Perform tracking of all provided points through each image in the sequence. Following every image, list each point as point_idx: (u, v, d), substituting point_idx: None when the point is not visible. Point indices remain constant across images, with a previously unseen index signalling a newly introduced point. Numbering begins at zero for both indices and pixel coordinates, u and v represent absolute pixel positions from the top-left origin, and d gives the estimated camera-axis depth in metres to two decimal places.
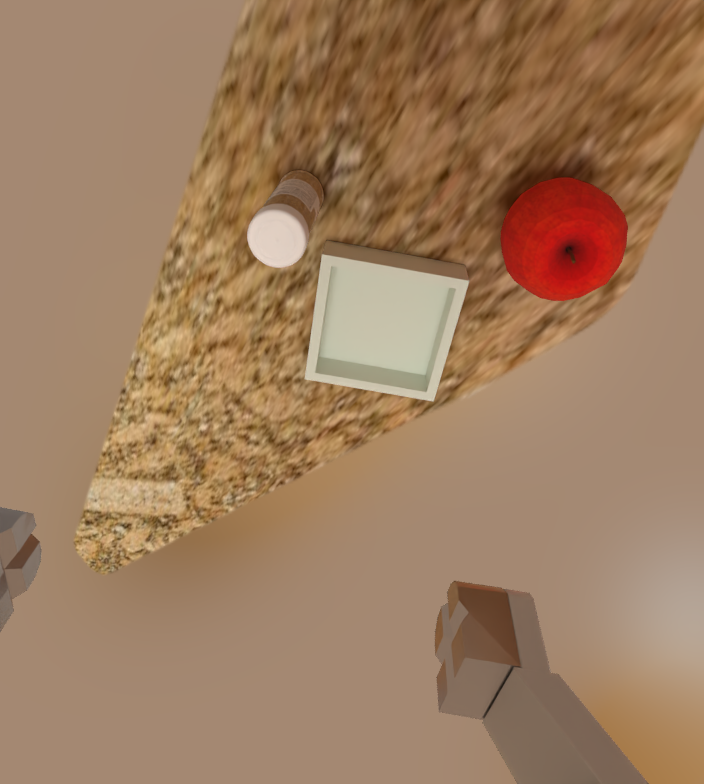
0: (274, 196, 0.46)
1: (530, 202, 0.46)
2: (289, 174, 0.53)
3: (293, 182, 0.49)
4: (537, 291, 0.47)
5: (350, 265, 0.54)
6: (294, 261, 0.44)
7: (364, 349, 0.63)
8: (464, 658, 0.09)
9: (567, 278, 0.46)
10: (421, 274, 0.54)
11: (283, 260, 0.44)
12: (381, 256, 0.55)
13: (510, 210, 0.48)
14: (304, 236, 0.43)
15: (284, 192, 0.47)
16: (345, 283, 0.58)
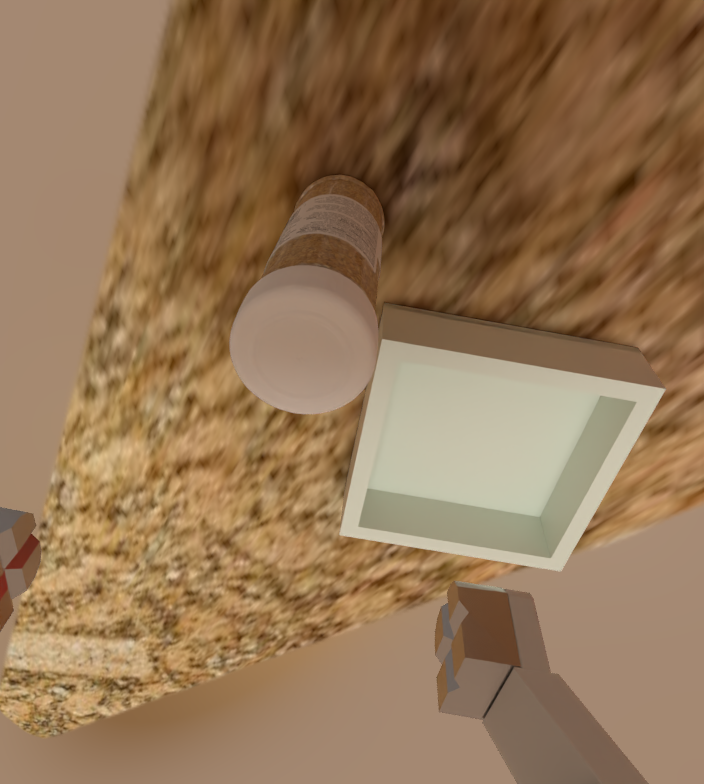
0: (294, 239, 0.20)
1: None
2: (319, 183, 0.27)
3: (332, 203, 0.23)
4: None
5: (436, 359, 0.28)
6: (344, 403, 0.18)
7: (439, 478, 0.37)
8: (464, 658, 0.09)
9: None
10: (574, 376, 0.28)
11: (318, 401, 0.18)
12: (490, 336, 0.29)
13: None
14: (373, 349, 0.17)
15: (317, 228, 0.21)
16: (414, 376, 0.33)
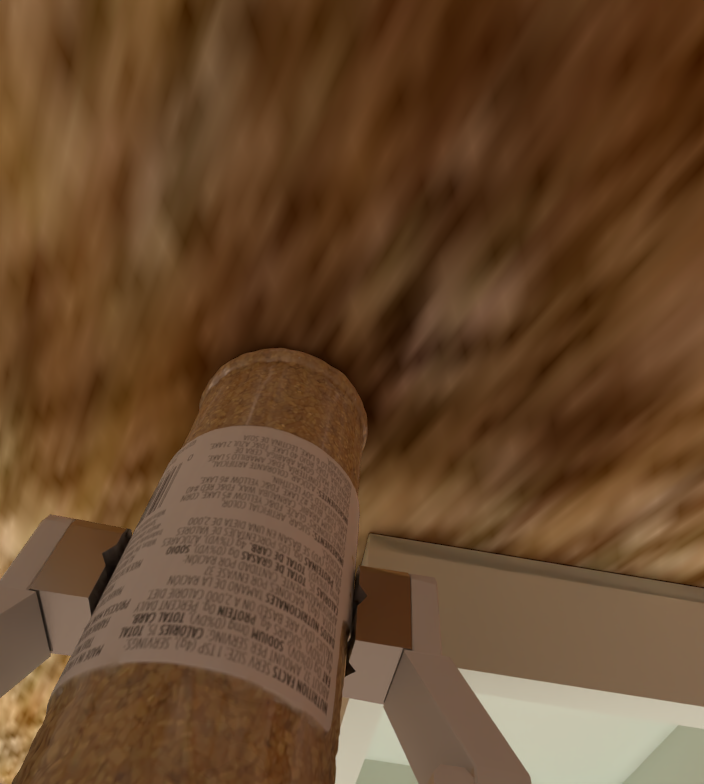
0: (103, 673, 0.07)
1: None
2: (240, 367, 0.14)
3: (243, 469, 0.10)
4: None
5: None
6: None
7: None
8: (355, 641, 0.09)
9: None
10: None
11: None
12: (557, 612, 0.17)
13: None
14: None
15: (173, 627, 0.08)
16: None
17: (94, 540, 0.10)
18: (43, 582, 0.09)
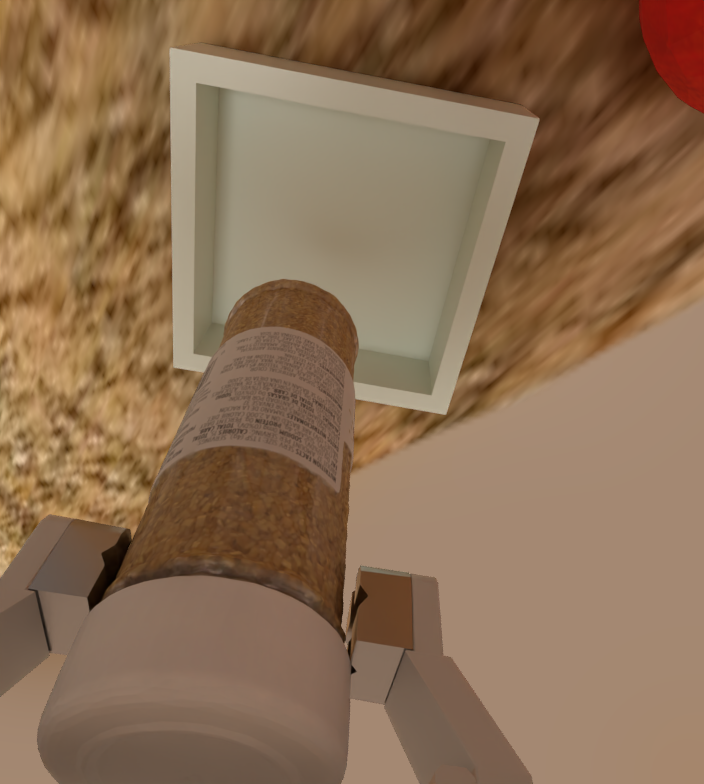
0: (186, 459, 0.11)
1: None
2: (252, 297, 0.18)
3: (262, 350, 0.14)
4: None
5: (243, 79, 0.22)
6: None
7: None
8: (356, 641, 0.09)
9: None
10: (421, 102, 0.22)
11: None
12: (325, 71, 0.23)
13: None
14: (335, 754, 0.08)
15: (227, 430, 0.12)
16: (250, 151, 0.26)
17: (93, 540, 0.10)
18: (42, 582, 0.09)
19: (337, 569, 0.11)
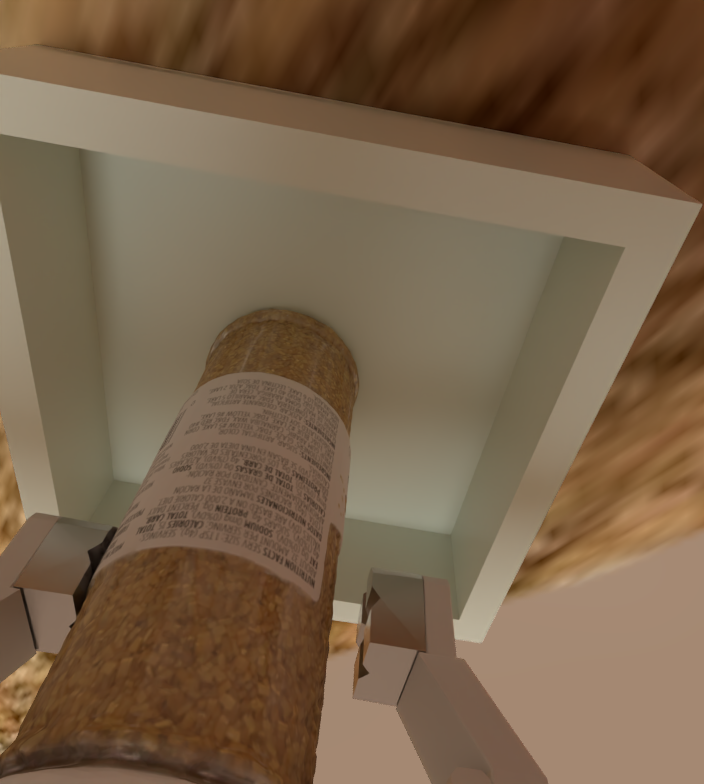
0: (124, 560, 0.09)
1: None
2: (236, 329, 0.15)
3: (236, 405, 0.12)
4: None
5: (82, 125, 0.10)
6: None
7: None
8: (369, 643, 0.09)
9: None
10: (455, 171, 0.10)
11: None
12: (262, 100, 0.12)
13: None
14: None
15: (178, 521, 0.09)
16: (145, 235, 0.15)
17: (80, 538, 0.10)
18: (27, 579, 0.09)
19: (309, 715, 0.08)
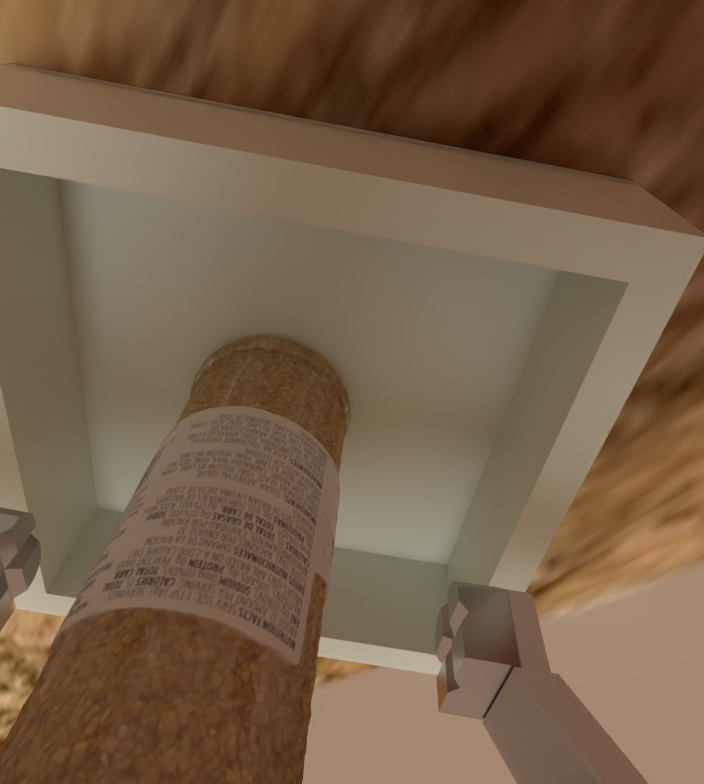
0: (88, 621, 0.08)
1: None
2: (221, 357, 0.15)
3: (217, 443, 0.11)
4: None
5: (52, 152, 0.10)
6: None
7: None
8: (464, 658, 0.09)
9: None
10: (448, 202, 0.10)
11: None
12: (246, 124, 0.11)
13: None
14: None
15: (148, 578, 0.09)
16: (127, 260, 0.14)
17: None
18: None
19: None
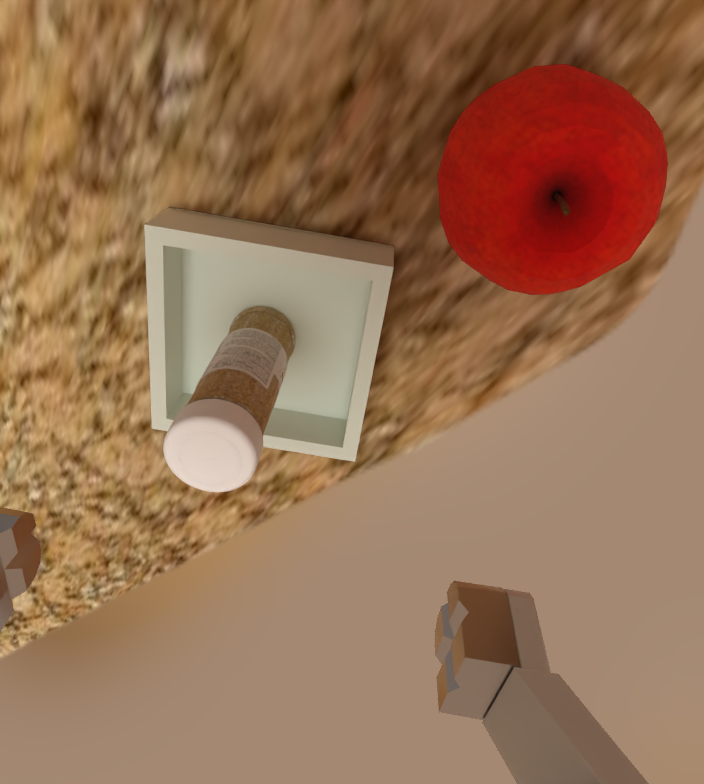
0: (209, 373, 0.31)
1: (482, 106, 0.24)
2: (242, 315, 0.37)
3: (242, 337, 0.34)
4: (501, 276, 0.26)
5: (194, 243, 0.32)
6: (242, 483, 0.28)
7: None
8: (464, 658, 0.09)
9: (556, 249, 0.24)
10: (313, 257, 0.32)
11: (225, 483, 0.28)
12: (252, 230, 0.34)
13: (450, 133, 0.27)
14: (252, 449, 0.27)
15: (225, 364, 0.31)
16: (205, 276, 0.37)
17: None
18: None
19: (262, 411, 0.30)
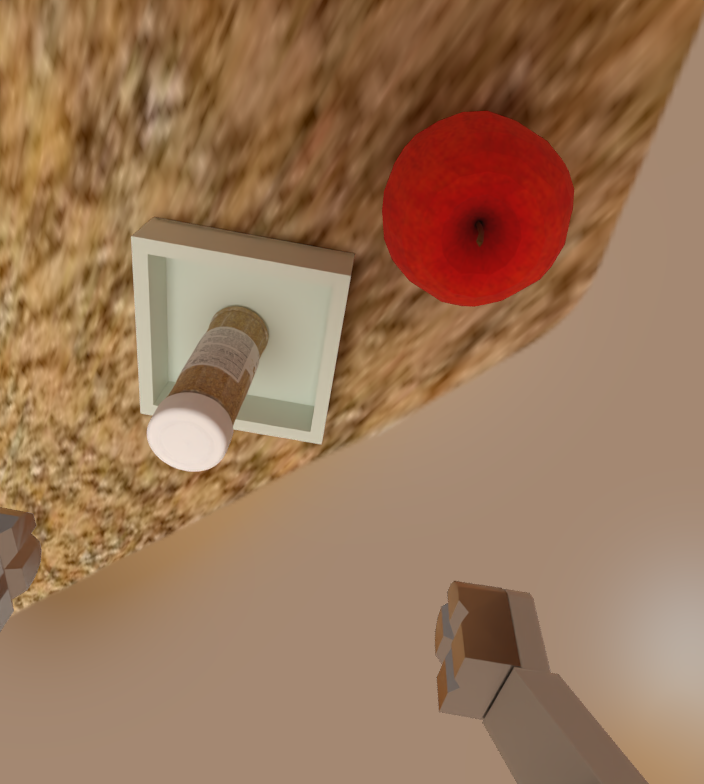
0: (188, 368, 0.35)
1: (416, 148, 0.28)
2: (220, 313, 0.42)
3: (218, 335, 0.38)
4: (433, 291, 0.30)
5: (175, 252, 0.36)
6: (214, 464, 0.33)
7: None
8: (464, 658, 0.09)
9: (477, 270, 0.29)
10: (280, 266, 0.36)
11: (200, 464, 0.33)
12: (227, 240, 0.38)
13: (394, 165, 0.31)
14: (222, 436, 0.32)
15: (202, 360, 0.35)
16: (187, 279, 0.41)
17: None
18: None
19: (233, 402, 0.34)
